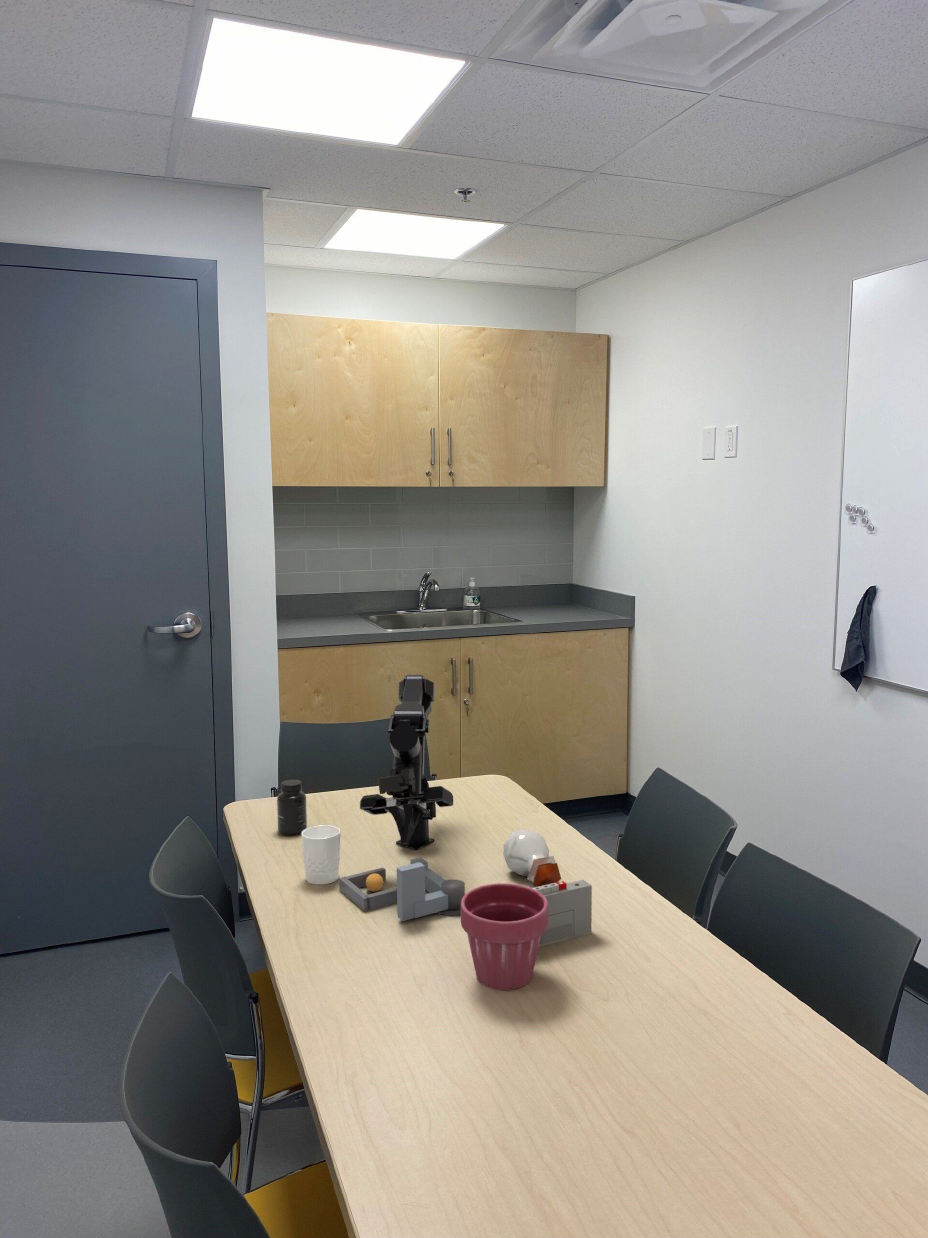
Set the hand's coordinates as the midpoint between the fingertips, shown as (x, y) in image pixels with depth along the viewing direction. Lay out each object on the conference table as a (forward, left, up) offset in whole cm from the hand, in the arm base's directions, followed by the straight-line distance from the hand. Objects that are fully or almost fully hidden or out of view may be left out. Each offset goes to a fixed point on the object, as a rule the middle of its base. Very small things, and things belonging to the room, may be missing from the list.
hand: (405, 843), depth 176 cm
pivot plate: (+1, +13, -10) cm, 16 cm away
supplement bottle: (-11, -43, -10) cm, 46 cm away
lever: (+3, +5, -9) cm, 11 cm away
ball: (+4, -5, -8) cm, 10 cm away
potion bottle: (-19, +18, -10) cm, 28 cm away
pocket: (+5, -4, -10) cm, 11 cm away
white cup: (+5, -18, -10) cm, 21 cm away
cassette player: (+2, +34, -10) cm, 36 cm away
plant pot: (+17, +34, -10) cm, 39 cm away
